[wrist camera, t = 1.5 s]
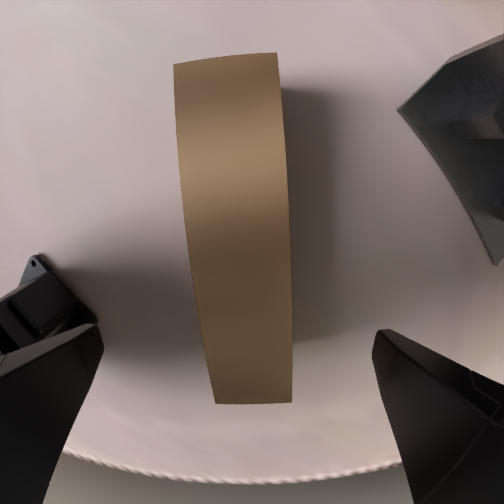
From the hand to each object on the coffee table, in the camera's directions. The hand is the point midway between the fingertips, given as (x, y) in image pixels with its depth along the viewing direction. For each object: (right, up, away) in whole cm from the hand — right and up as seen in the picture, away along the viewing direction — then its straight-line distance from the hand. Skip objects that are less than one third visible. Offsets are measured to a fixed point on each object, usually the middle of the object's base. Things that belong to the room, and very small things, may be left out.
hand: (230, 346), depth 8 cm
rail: (0, +4, +6) cm, 8 cm away
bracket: (+14, +8, +4) cm, 17 cm away
